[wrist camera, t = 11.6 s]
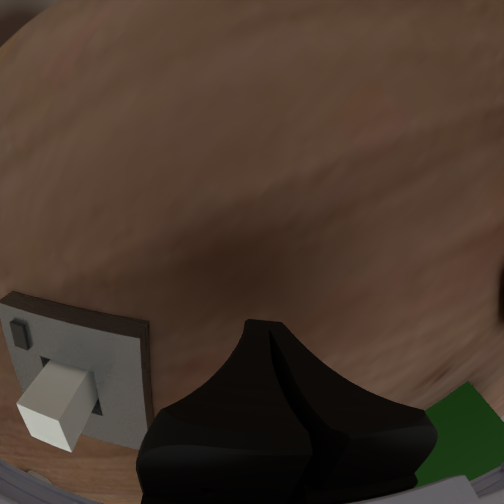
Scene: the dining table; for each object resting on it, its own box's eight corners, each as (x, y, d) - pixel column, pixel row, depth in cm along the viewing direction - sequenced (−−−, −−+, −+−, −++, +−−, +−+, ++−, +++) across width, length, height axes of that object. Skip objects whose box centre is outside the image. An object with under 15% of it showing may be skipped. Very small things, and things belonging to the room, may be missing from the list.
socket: (155, 434, 26) (149, 456, 23) (41, 401, 25) (30, 418, 22) (148, 321, 22) (137, 342, 19) (12, 291, 21) (-7, 304, 18)
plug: (101, 391, 24) (71, 452, 16) (66, 381, 23) (31, 436, 16) (95, 359, 23) (58, 420, 15) (58, 349, 22) (16, 403, 15)
